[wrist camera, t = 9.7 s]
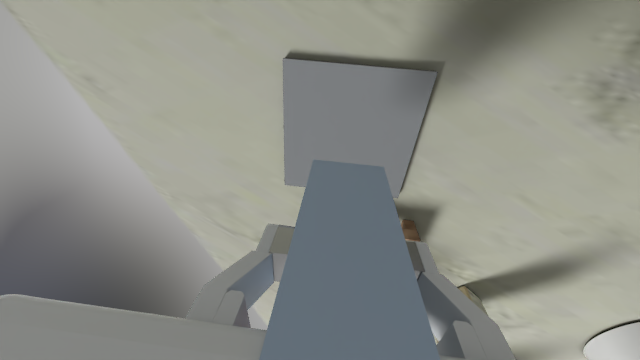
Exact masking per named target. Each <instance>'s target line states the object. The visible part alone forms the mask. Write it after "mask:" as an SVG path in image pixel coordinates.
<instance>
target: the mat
mask: <svg viewBox="0 0 640 360" xmlns="http://www.w3.org/2000/svg"><path fill="white" fill-rule="evenodd" d="M437 73H438V72H436V71H426V70H415V69H403V68H392V67H381V66H370V65H358V64H347V63H336V62H324V61H313V60H302V59H291V58H283V102H284V165H285V185H291V186H299V187H306V185H307V181H308V178H309V174H310V170H311V166H312V163H313V160H323V161H333V162H342V163H352V164H362V165H372V166H381V167H384V169H385V173H386V176H387V179H388V183H389V186H390V190H391V193H392V196H393V198H398V196H399V193H400V190H401V187H402V183H403V180H404V177H405V174H406V171H407V168H408V164H409V161H410V158H411V155H412V152H413V149H414V146H415V142H416V139H417V136H418V133H419V130H420V127H421V123H422V120H423V117H424V114H425V111H426V108H427V104H428V101H429V98H430V95H431V92H432V89H433V86H434V82H435V79H436V76H437Z"/></svg>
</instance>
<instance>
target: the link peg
mask: <svg viewBox="0 0 640 360" xmlns="http://www.w3.org/2000/svg"><path fill="white" fill-rule="evenodd" d="M259 360H440V357H439V354H438V350H437V347H436V343H435V340H434V337H433V333H432V330H431V326H430V323H429V319H428V316H427V313H426V309H425V306H424V302H423V299H422V296H421V292H420V289H419V285H418V282H417V278H416V275H415V272H414V268H413V265H412V261H411V258H410V255H409V251H408V248H407V244H406V241H405V237H404V234H403V231H402V227H401V224H400V220H399V217H398V214H397V210H396V207H395V203H394V200H393V196H392V193H391V190H390V186H389V183H388V179H387V176H386V173H385V169H384V167H381V166H372V165H362V164H352V163H342V162H333V161H323V160H313V163H312V166H311V170H310V174H309V178H308V181H307V185H306V189H305V192H304V196H303V200H302V203H301V207H300V211H299V214H298V218H297V222H296V226H295V229H294V233H293V237H292V240H291V244H290V248H289V251H288V255H287V259H286V262H285V266H284V270H283V274H282V277H281V281H280V285H279V288H278V292H277V296H276V299H275V303H274V307H273V310H272V314H271V318H270V321H269V325H268V329H267V333H266V336H265V340H264V344H263V347H262V351H261V355H260V358H259Z"/></svg>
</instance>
